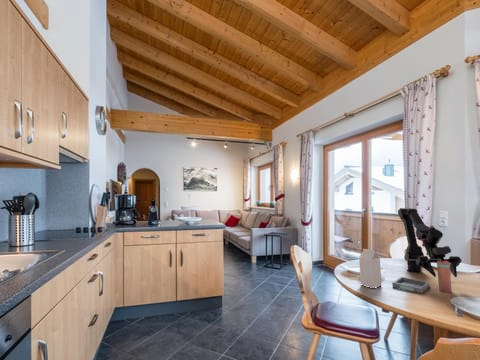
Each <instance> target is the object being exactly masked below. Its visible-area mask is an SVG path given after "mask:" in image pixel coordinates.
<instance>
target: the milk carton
mask: <svg viewBox="0 0 480 360" xmlns="http://www.w3.org/2000/svg"><path fill="white" fill-rule="evenodd" d="M358 260H359V275H360V285H361V284H363V285H366V286H369V287H371V288H375V287H379V286H382V287H383V285H382V272H381V258H380V256H379V255H378V254H377V253H376V251H375V250H371V249H366V248H363V249H362V252H361V254H360V255H359V259H358ZM379 288H380V287H379Z"/></svg>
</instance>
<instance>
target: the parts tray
mask: <svg viewBox="0 0 480 360" xmlns="http://www.w3.org/2000/svg"><path fill="white" fill-rule="evenodd" d="M391 284H392V288H393V287H396V288H395V289H397V288H400V289H399V290H402V289H404V290H403V291H406V290H408V291H407V292H411V291H412V292H411V293H415V292H416V293H415V294H420V295H423V294H425V292H426V291H428V289H429V288H430V281H426V280H425V281H424V280H420V279H415V278H410V277H406V276H405V277H404V276H399V277H398V278H397V279H396V280H394V281H393V282H392V283H391Z"/></svg>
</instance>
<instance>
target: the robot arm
mask: <svg viewBox="0 0 480 360" xmlns="http://www.w3.org/2000/svg"><path fill="white" fill-rule="evenodd" d="M397 214H398V216H399V219H400V220H401V221H402V222H403V226H404V230H405V234H406V240H407V247H406V249H405V254H404V260H405V262H406V263H407V270H406V271H407V272H412V273H416V274H419V273H421V272H422V271H423V269H425V270H426V271H427V272H428V273H429V274H431V276H433V277H434V278H436V277H437V274H436V272H435V270H434V267H433V266H432V264H437V261H439V260H441V261H448V262H450V273H451V274H452V275H453V276H454V278H457V277H458V275H457V274H458V273H457V267H459V266H460V264H461V263H462V262H463V261H462V258H461V257H460V256H456V255H454V256H453V255H452V256H451V255H449V258H445V257H446V255H448V254H450V253H452V249H451V248H450V246H449V245H445V246H438V244H439V243H440V241H441V239H442V238H443V235H444V233H443V232H442V231H441V230H440V229H437V228H436V227H429V226H427V224H425V223H424V221H423V219H422V218H421V217H420V214H419V213H418V210H417V208H414V207H413V208H412V207H400V208H399V209H398V210H397ZM414 227H415V228H414ZM415 229H416V230H415ZM417 239H418V240H422V244H421V245H422V246H420V245H419V244H418V241H417ZM422 247H423V248H424V249H425V251H426V255H425V254H424V252H423V248H422Z"/></svg>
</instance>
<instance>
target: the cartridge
mask: <svg viewBox="0 0 480 360" xmlns="http://www.w3.org/2000/svg"><path fill="white" fill-rule="evenodd" d="M436 269H437V279H438V280H437V281H438V283H437V284H438V290H439V291H440V292H443V293H452V281H451V280H452V277H451V270H450V262H448V261H441V260H439V261H437V263H436Z"/></svg>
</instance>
